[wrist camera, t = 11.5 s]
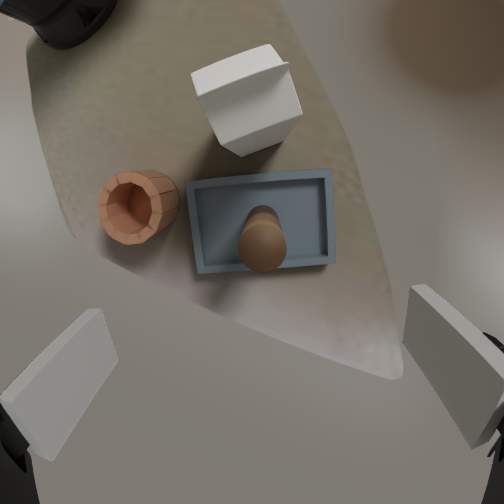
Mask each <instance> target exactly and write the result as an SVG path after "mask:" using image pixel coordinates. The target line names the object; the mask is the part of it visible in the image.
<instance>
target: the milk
mask: <svg viewBox="0 0 504 504" xmlns="http://www.w3.org/2000/svg"><path fill="white" fill-rule="evenodd" d="M289 65H290V63H289V62H283V61H282V60H281V59H280V57H279V56H278V54H277V53H276V52H275V50H274V49H273V48H272V46H271V45H270V44H266V45H263V46H260V47H257V48H254V49H251V50H248V51H245V52H242V53H240V54H237V55H234V56H231V57H229V58H226V59H224V60H221V61H219V62H216V63H214V64H211V65H209V66H206V67H204V68H202V69H200V70H197V71H195V72H193V73H191V78H192V81H193V84H194V87H195V90H196V93H197V96H196V100H197V101H198V102H199V103H200V104H201V106H202V108H203V110H204V113H205V115H206V117H207V119H208V121H209V123H210V125H211V127H212V129H213V131H214V133H215V135H216V137H217V139H218V141H219V143H220V145H221V146H223V147H225V148H227V149H228V150H230V151H232V152H234V153H235V154H237V155H239V156H240V157H244V156H246V155H249V154H251V153H254V152H256V151H259V150H261V149H264V148H267V147H269V146H272V145H275V144H277V143H280V142H283V141H284V140H285V139H286V137H287V136H288V134H289V133H290V132H291V130H292V129H293V127H294V126H295V124H296V123H297V122H298V120H299V119H300V117H301V116H302V114H303V113H302V109H301V106H300V103H299V100H298V97H297V94H296V91H295V88H294V85H293V82H292V79H291V76H290V73H289Z"/></svg>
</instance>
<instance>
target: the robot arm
mask: <svg viewBox="0 0 504 504" xmlns="http://www.w3.org/2000/svg"><path fill="white" fill-rule="evenodd" d="M116 1H117V0H0V13H3V14H5V15H7V16H10V17H12V18H15V19H17V20H19V21H22V22H24V23H26V24H28V25H31V26H32V27H33V28H34V29H35V31H36V32H37V34H38V35H39V36H40V37H41V39H42V41H43V42H44V43H45V44H47V45H48V46H50V47H53V48H55V49H59V50H64V49H69V48H72V47H74V46H77V45H79V44H80V43H82V42H84V41H85V40H87V39H88V38H89V37H91V36H92V35H93V34H94V33H95V32H96V31H97V30H98V29H99V28H100V27H101V26H102V25H103V24H104V23H105V22H106V20H107V19H108V18H109V16H110V14H111V13H112V11H113V9H114V7H115V4H116ZM403 344H404V345H405V347H406V348H407V350H408V351H409V352H410V354H411V355H412V357H413V358H414V360H415V361H416V363H417V364H418V366H419V367H420V368H421V370H422V371H423V373H424V374H425V376H426V377H427V379H428V380H429V382H430V383H431V385H432V386H433V388H434V390H435V391H436V392H437V394H438V396H439V397H440V399H441V400H442V402H443V403H444V405H445V407H446V408H447V410H448V411H449V413H450V415H451V416H452V418H453V420H454V421H455V423H456V424H457V426H458V428H459V429H460V431H461V433H462V434H463V436H464V438H465V440H466V441H467V443H468V445H469V447H470V448H471V449H474V448H476V447H478V446H480V445H482V444H484V443H486V442H488V441H489V440H490V439H491V437H492V436H493V434H494V432H495V431H496V429H498V431H499V432H500V434H501V435H500V437H499V438H498V440H497V441H496V443H495V444H494V446H493V447H492V449H491V450H490V452H489V454H488V456H487V457H490V456H491V455H492V453H493V452H494V451H495V455H494V459H493V464H492V469H491V472H490V476H489V480H488V484H487V487H486V491H485V494H484V497H483V500H482V504H504V345H503V344H502V343H501V342H500V341H499V340H497V339H496V338H495V337H493V336H491V335H489V334H487V333H485V332H484V333H481V332H480V331H479V330H478V329H477V328H476V327H475V326H474V325H473V324H471V323H470V322H469V321H468V320H467V319H466V318H465V317H464V316H462V315H461V314H460V313H459V312H458V311H457V310H456V309H454V308H453V307H452V306H451V305H450V304H448V303H447V302H446V301H445V300H444V299H443V298H441V297H440V296H439V295H438V294H437V293H435V292H434V291H433V290H432V289H431V288H429V287H428V286H427V285H426V284H421V285H414V286H410V291H409V300H408V308H407V316H406V323H405V329H404V336H403ZM117 362H118V357H117V354H116V351H115V348H114V345H113V343H112V340H111V337H110V334H109V331H108V328H107V325H106V322H105V318H104V315H103V312H102V309H88V310H86V311H85V312H84V313H83V314H82V315H81V316H80V317H79V318H78V319H77V320H75V321H74V322H73V323H72V324H71V325H70V326H69V327H68V328H67V329H66V330H65V331H64V332H63V333H61V334H60V335H59V336H58V337H57V338H56V339H55V340H54V341H53V342H52V343H51V344H50V345H49V346H48V347H47V348H46V349H45V350H44V351H43V352H42V353H41V354H40V355H39V356H38V357H37V358H36V359H35V360H34V361H33V362H32V363H31V364H30V365H29V366H27V367H26V368H25V369H24V370H23V371H22V372H21V373H20V375H18V376H17V377H16V378H15V379H14V381H13V382H12V383H11V384H10V385H9V386H8V387H7V388H6V389H5V390H4V391H3V392H2V393H1V394H0V504H40V503H39V499H38V494H37V489H36V485H35V479H34V474H33V467H32V460H31V456H30V454H29V452H28V451H27V448H28V447H29V445H30V446H31V447H32V448H33V450H34V451H35V452H36V453H37V454H38V456H40V457H42V458H45V459H47V460H49V461H52V462H53V461H54V460H55V458H56V456H57V455H58V453H59V451H60V450H61V448H62V446H63V445H64V443H65V441H66V440H67V438H68V437H69V435H70V433H71V431H72V430H73V429H74V427H75V425H76V424H77V422H78V421H79V419H80V418H81V416H82V414H83V413H84V411H85V410H86V408H87V407H88V405H89V404H90V402H91V401H92V399H93V397H94V396H95V394H96V393H97V391H98V390H99V388H100V387H101V385H102V384H103V382H104V381H105V379H106V378H107V376H108V375H109V374H110V372H111V371H112V369H113V368H114V366H115V365H116V363H117Z"/></svg>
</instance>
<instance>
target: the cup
mask: <svg viewBox="0 0 504 504" xmlns="http://www.w3.org/2000/svg"><path fill="white" fill-rule="evenodd" d="M98 204H99V205H98V212H99V218H100V222H101V225H102V226H103V227H104V229H105V230H106V232H107V233H108V235H109V236H110V237H111V238H113V239H115V240H117V241H119V242H121V243H123V244H125V245H131V244H141V243H143V242H145V241H147V240H148V239H150V238H151V237H153V236H154V235H156V234H157V233H159V232H160V231H162V230H163V229H164V228H166V227H167V226H169V225H170V224H171V223H172V222H173V220H174V219H175V217H176V215H177V213H178V210H179V205H180V198H179V193H178V190H177V188H176V186H175V184H174V182H173V181H172V180H171V179H170V178H169V177H168V176H166V175H165V174H163V173H160V172H156V171H152V170H149V171H130V172H125V173H121V174H116V175H114V176H113V177H112V178H111V179H110V180H109V181H108V182H107V183H106V184H105V185H104V186H103V188H102V191H101V194H100V197H99V201H98Z"/></svg>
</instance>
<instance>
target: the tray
mask: <svg viewBox="0 0 504 504" xmlns="http://www.w3.org/2000/svg"><path fill="white" fill-rule="evenodd" d="M185 185H186V193H187V202H188V210H189V217H190V225H191V232H192V239H193V246H194V253H195V260H196V266H197V273H198V274H208V273H222V272H236V271H249V270H251V269H249V268H247V267H246V266H245V265H244V264H243V262H242V261H241V259H240V257H239V253H238V245H239V241H240V238H241V235H242V232H243V229H244V226H245V223H246V220H247V217H248V214H249V212H250V211H251V210H252V209H253V208H255V207H257V206H260V205H266V206H269V207H271V208H272V209H274V210H275V212H276V213H277V215H278V219H279V222H280V225H281V228H282V231H283V235H284V238H285V241H286V245H287V253H286V257H285V259H284V261H283V262H282V264H281V265H280V266H279V267H277V268H287V267H299V266H311V265H322V264H334V263H336V242H335V213H334V193H333V178H332V169H318V170H300V171H285V172H271V173H259V174H248V175H238V176H229V177H220V178H211V179H203V180H195V181H188V182H185Z"/></svg>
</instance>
